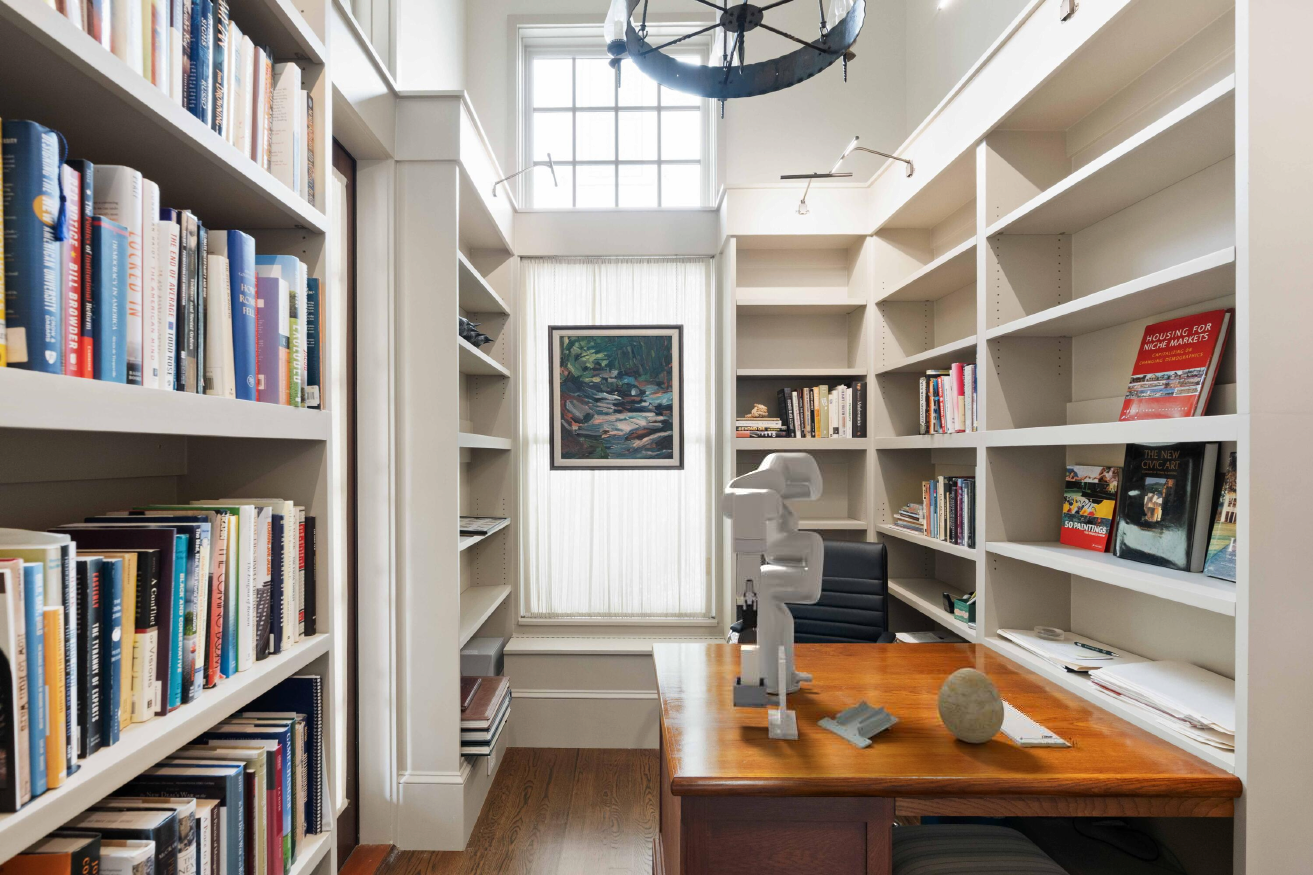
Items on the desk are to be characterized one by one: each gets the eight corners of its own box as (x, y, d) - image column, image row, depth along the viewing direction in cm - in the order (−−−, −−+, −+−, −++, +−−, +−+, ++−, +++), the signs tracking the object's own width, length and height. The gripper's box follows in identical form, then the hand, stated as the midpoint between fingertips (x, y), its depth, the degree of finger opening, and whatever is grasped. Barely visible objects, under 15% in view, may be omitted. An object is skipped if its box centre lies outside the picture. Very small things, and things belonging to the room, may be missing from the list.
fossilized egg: (1016, 743, 145) (1015, 670, 146) (983, 758, 138) (982, 681, 138) (959, 725, 155) (958, 657, 156) (926, 737, 148) (925, 666, 148)
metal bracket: (860, 691, 161) (907, 712, 147) (866, 715, 162) (913, 738, 148) (811, 717, 156) (854, 742, 142) (817, 742, 156) (861, 768, 142)
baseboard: (1004, 699, 174) (956, 699, 174) (1004, 687, 174) (956, 687, 174) (1079, 749, 143) (1020, 749, 143) (1078, 735, 143) (1020, 735, 143)
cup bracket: (794, 715, 161) (794, 645, 161) (797, 739, 147) (797, 662, 148) (735, 712, 163) (735, 643, 163) (732, 735, 149) (732, 660, 150)
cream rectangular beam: (759, 694, 157) (759, 645, 158) (759, 700, 153) (759, 650, 154) (741, 693, 158) (741, 644, 158) (740, 699, 154) (740, 649, 154)
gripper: (734, 541, 166) (735, 613, 166) (731, 551, 149) (731, 631, 149) (766, 541, 165) (767, 614, 165) (766, 551, 148) (767, 632, 147)
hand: (750, 622), depth 157 cm, fingers open, 9 cm apart
